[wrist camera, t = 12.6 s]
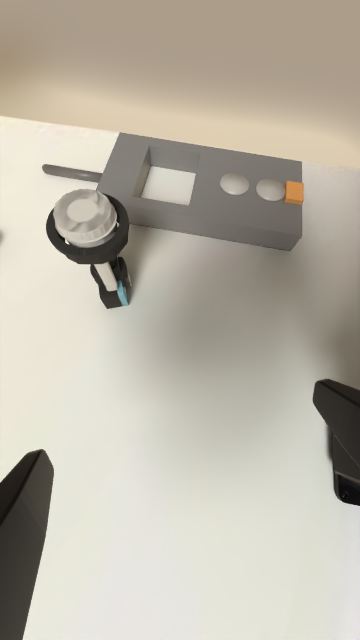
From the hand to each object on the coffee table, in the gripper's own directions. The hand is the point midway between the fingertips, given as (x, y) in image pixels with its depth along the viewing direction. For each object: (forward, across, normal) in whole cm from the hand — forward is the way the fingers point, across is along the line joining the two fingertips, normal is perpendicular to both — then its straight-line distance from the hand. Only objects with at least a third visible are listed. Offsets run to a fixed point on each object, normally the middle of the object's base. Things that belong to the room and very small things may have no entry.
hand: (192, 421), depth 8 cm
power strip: (+27, -4, -9) cm, 28 cm away
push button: (+19, +3, 0) cm, 20 cm away
